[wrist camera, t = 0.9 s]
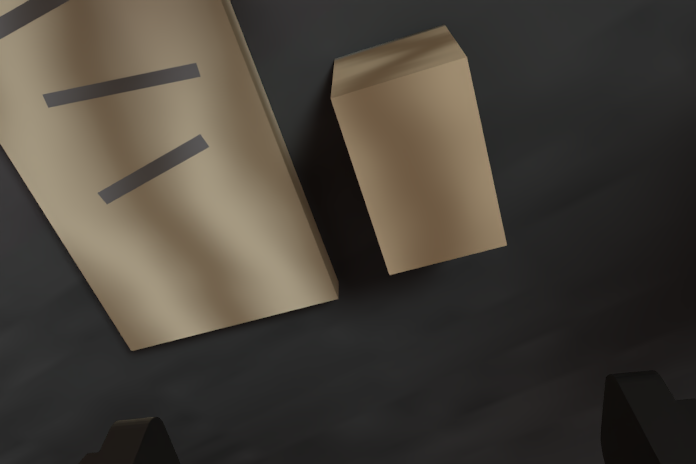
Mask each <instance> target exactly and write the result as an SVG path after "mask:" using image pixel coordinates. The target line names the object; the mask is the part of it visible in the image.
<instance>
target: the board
mask: <svg viewBox="0 0 696 464" xmlns="http://www.w3.org/2000/svg"><path fill="white" fill-rule="evenodd" d="M0 144H1V146H2V147H3V149H4V150H5V152H6V154H7V155H8V157H9V158H10V160H11V161H12V163H13V165H14V166H15V168H16V169H17V171H18V173H19V174H20V176H21V177H22V179H23V180H24V182H25V184H26V185H27V187H28V188H29V190H30V192H31V193H32V195H33V196H34V198H35V199H36V201H37V203H38V204H39V206H40V207H41V209H42V211H43V212H44V214H45V215H46V217H47V218H48V220H49V222H50V223H51V225H52V226H53V228H54V229H55V231H56V233H57V234H58V236H59V237H60V239H61V241H62V242H63V244H64V245H65V247H66V248H67V250H68V252H69V253H70V255H71V256H72V258H73V260H74V261H75V263H76V264H77V266H78V267H79V269H80V271H81V272H82V274H83V275H84V277H85V278H86V280H87V282H88V283H89V285H90V286H91V288H92V290H93V291H94V293H95V294H96V296H97V297H98V299H99V301H100V302H101V304H102V305H103V307H104V309H105V310H106V312H107V313H108V315H109V316H110V318H111V320H112V321H113V323H114V324H115V326H116V328H117V329H118V331H119V332H120V334H121V335H122V337H123V339H124V340H125V342H126V343H127V345H128V346H129V348H130V350H131V351H134V350H138V349H142V348H146V347H150V346H154V345H158V344H162V343H166V342H170V341H174V340H177V339H181V338H185V337H189V336H193V335H197V334H201V333H205V332H209V331H213V330H217V329H221V328H225V327H229V326H233V325H237V324H241V323H245V322H249V321H253V320H257V319H261V318H265V317H269V316H272V315H276V314H280V313H284V312H288V311H292V310H296V309H300V308H304V307H308V306H312V305H316V304H320V303H324V302H328V301H332V300H336V299H338V289H339V282H338V280H337V277H336V274H335V272H334V269H333V267H332V264H331V261H330V259H329V256H328V254H327V251H326V248H325V246H324V243H323V241H322V238H321V235H320V233H319V230H318V228H317V225H316V223H315V220H314V217H313V215H312V212H311V210H310V207H309V204H308V202H307V199H306V197H305V194H304V191H303V189H302V186H301V184H300V181H299V178H298V176H297V173H296V171H295V168H294V166H293V163H292V160H291V158H290V155H289V153H288V150H287V147H286V145H285V142H284V140H283V137H282V134H281V132H280V129H279V127H278V124H277V121H276V119H275V116H274V114H273V111H272V109H271V106H270V103H269V101H268V98H267V96H266V93H265V90H264V88H263V85H262V83H261V80H260V77H259V75H258V72H257V70H256V67H255V64H254V62H253V59H252V57H251V54H250V52H249V49H248V46H247V44H246V41H245V39H244V36H243V33H242V31H241V28H240V26H239V23H238V20H237V18H236V15H235V13H234V10H233V7H232V5H231V2H230V0H0Z"/></svg>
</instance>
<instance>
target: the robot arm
mask: <svg viewBox="0 0 696 464" xmlns="http://www.w3.org/2000/svg"><path fill="white" fill-rule="evenodd" d="M601 446H602V452H603V457H604V461H605V464H696V400H695V399H686V400H675V399H674V397H673V396H672V394H671V392H670V391H669V389H668V388H667V386H666V384H665V383H664V381H663V379H662V378H661V377H660V375H659V374H658V373H657V372H656V371H653V370H651V371H641V372H631V373H620V374H610V375H608V376H607V377H606V381H605V391H604V402H603V414H602V425H601ZM78 464H180V462H179V459H178V457H177V455H176V452H175V450H174V447H173V445H172V443H171V440H170V438H169V435H168V433H167V431H166V428H165V426H164V424H163V422H162V420H161V419H160V418H158V417H151V418H141V419H131V420H120V421H116V422H115V423H114V424H113V425H112V426H111V428H110V430H109V432H108V434H107V436H106V439H105V441H104V443H103V445H102V447H101V450H100V452H97V453H88V454H87V455H86V456H85V457H84V458H83V459H82V460H81V461H80V462H79V463H78Z"/></svg>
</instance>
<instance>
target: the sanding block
mask: <svg viewBox="0 0 696 464" xmlns="http://www.w3.org/2000/svg"><path fill="white" fill-rule="evenodd" d="M331 101H332V104H333V107H334V110H335V113H336V116H337V119H338V122H339V125H340V128H341V131H342V134H343V137H344V140H345V143H346V146H347V149H348V152H349V155H350V158H351V161H352V164H353V167H354V170H355V173H356V176H357V179H358V182H359V185H360V188H361V191H362V194H363V197H364V200H365V203H366V206H367V209H368V212H369V215H370V218H371V221H372V224H373V227H374V230H375V233H376V236H377V239H378V242H379V245H380V248H381V251H382V254H383V257H384V260H385V263H386V266H387V269H388V272H389V275H392V274H396V273H400V272H404V271H408V270H412V269H416V268H420V267H424V266H428V265H432V264H435V263H439V262H443V261H447V260H451V259H455V258H459V257H463V256H467V255H471V254H475V253H479V252H483V251H486V250H490V249H494V248H498V247H502V246H506V245H507V243H506V239H505V234H504V229H503V225H502V220H501V215H500V211H499V206H498V201H497V196H496V192H495V187H494V182H493V178H492V173H491V168H490V164H489V159H488V154H487V149H486V145H485V140H484V135H483V131H482V126H481V121H480V117H479V112H478V107H477V102H476V98H475V93H474V88H473V84H472V79H471V74H470V69H469V65H468V60H467V56H466V55H465V54H464V52H463V51H462V49H461V48H460V46H459V45H458V43H457V42H456V41H455V39H454V38H453V36H452V35H451V33H450V32H449V30H448V29H447V28H446V26H445V25H440V26H437V27H434V28H431V29H428V30H425V31H421V32H418V33H415V34H412V35H409V36H406V37H402V38H399V39H396V40H393V41H390V42H387V43H383V44H380V45H377V46H374V47H371V48H368V49H364V50H361V51H358V52H355V53H352V54H349V55H345V56H342V57H339V58H336V59H335V60H334V70H333V80H332V90H331Z"/></svg>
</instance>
